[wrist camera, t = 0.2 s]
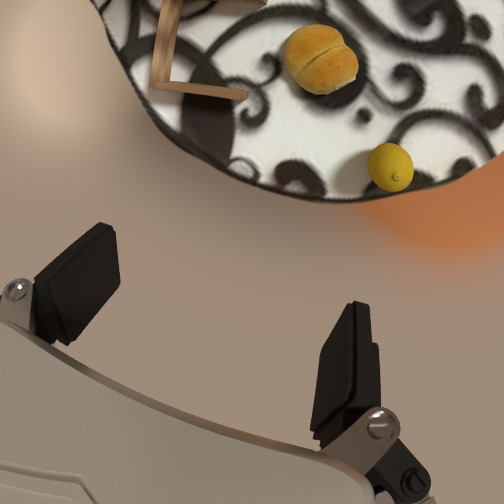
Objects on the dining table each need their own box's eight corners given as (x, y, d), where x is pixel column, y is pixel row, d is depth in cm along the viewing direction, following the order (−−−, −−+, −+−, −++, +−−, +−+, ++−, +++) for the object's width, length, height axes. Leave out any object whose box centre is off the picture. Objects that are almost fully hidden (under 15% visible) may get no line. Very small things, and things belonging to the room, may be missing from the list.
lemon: (412, 159, 33) (430, 179, 27) (383, 186, 36) (394, 211, 30) (384, 128, 32) (398, 141, 26) (355, 157, 35) (362, 175, 29)
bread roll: (325, 16, 26) (324, 9, 23) (366, 74, 29) (371, 73, 26) (270, 48, 30) (264, 44, 27) (311, 103, 33) (309, 106, 30)
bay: (178, -6, 27) (165, -11, 24) (268, -2, 26) (262, -10, 23) (162, 87, 36) (148, 89, 33) (247, 98, 35) (239, 100, 32)
